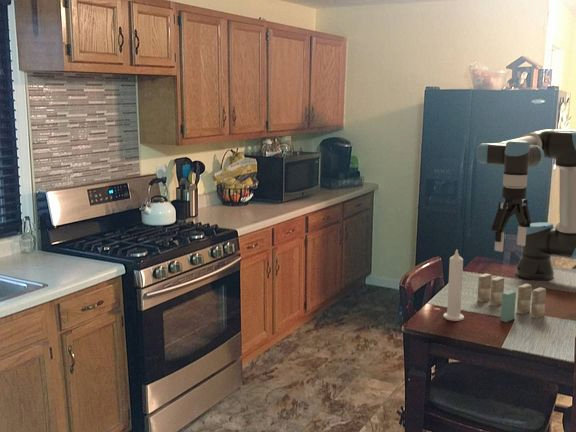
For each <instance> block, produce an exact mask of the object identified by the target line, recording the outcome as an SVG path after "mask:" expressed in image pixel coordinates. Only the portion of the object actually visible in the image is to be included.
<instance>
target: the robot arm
mask: <svg viewBox="0 0 576 432" xmlns="http://www.w3.org/2000/svg"><path fill="white" fill-rule="evenodd" d="M475 154H476V155H475V157H476V161H477V163H479V164H482V165H488V166H489V165H496V166H503V175H502V176H503V177H502V178H503V179H502V185H503V187H502V190H501V191H502V194H501V197H502V198H503V199H504V202H501V201H499V202H498V205H497V207H498V208H497V211H496V214H495V217H494V220H493V223H492V225H491V228H490V229H491V231H492V232H495V233H494V234H495V237H494V251H496V252H501V253H503V252H504V241H505V232H503V231H504V230H505V227H506V226H507V224H508V222H509V221H510V218H511V217H513V215H515V217H516V219H517V222H518V226H517V237H516V238H517V240H516V245H518V246H521V257H520V259H519V262H518V264H517V266H516V270H515V274H516V276H518V277H519V278H523V279H527V280H528V279H529V280H535V281H548V280H552V279H553V278H554V275H555V271H554V268H553V265H552V261H551V255H552V256H555V257H556V256H557V257H562V258H568V259H571V260H572V259H575V260H576V129H567V128H566V129H565V128H564V129H559V128H558V129H554V128H548V129H540V130H536V131H532V132H527V133H525V134H523V135H522V136H521V137H518V138H512V139H509V140H505V141H500V142H494V143H491V142H490V143H489V142H487V143H486V142H485V143H484V142H482V143H479V145H478V146H477V148H476V152H475ZM544 159H553V160H555V166H557V168H559V188H558V189H559V196H558V197H559V201H558V202H559V203H558V205H559V206H558V207H559V208H558V209H559V210H558V211H559V216H558V217H559V218H558V219H559V222H558V223H557V224H556V225H555V227H554V224H553V223H552V222H544V221H543V222H542V221H541V222H532V221H531V215H530V211H529V206H528V199H526V197H527V188H526V187H527V186H528V173H529V168H535V167H537V166H538V165H541V163H543V161H544Z"/></svg>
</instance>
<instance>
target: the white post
mask: <svg viewBox="0 0 576 432" xmlns="http://www.w3.org/2000/svg"><path fill="white" fill-rule="evenodd" d="M463 268H464V258H463V257H462V256H460V254H459V250H458V249H456V250H455V251H454V255H452V256H450V257H449V268H448V269H449V270H448V291H447V311H446V312H444V313H443V319H445V320H448V321H451V322H460V321H463V320H464V318H465V316H464V315H463V314H462V313H461V311H462V308H461V307H462V293H463V292H462V291H463V290H462V287H463Z"/></svg>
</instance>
